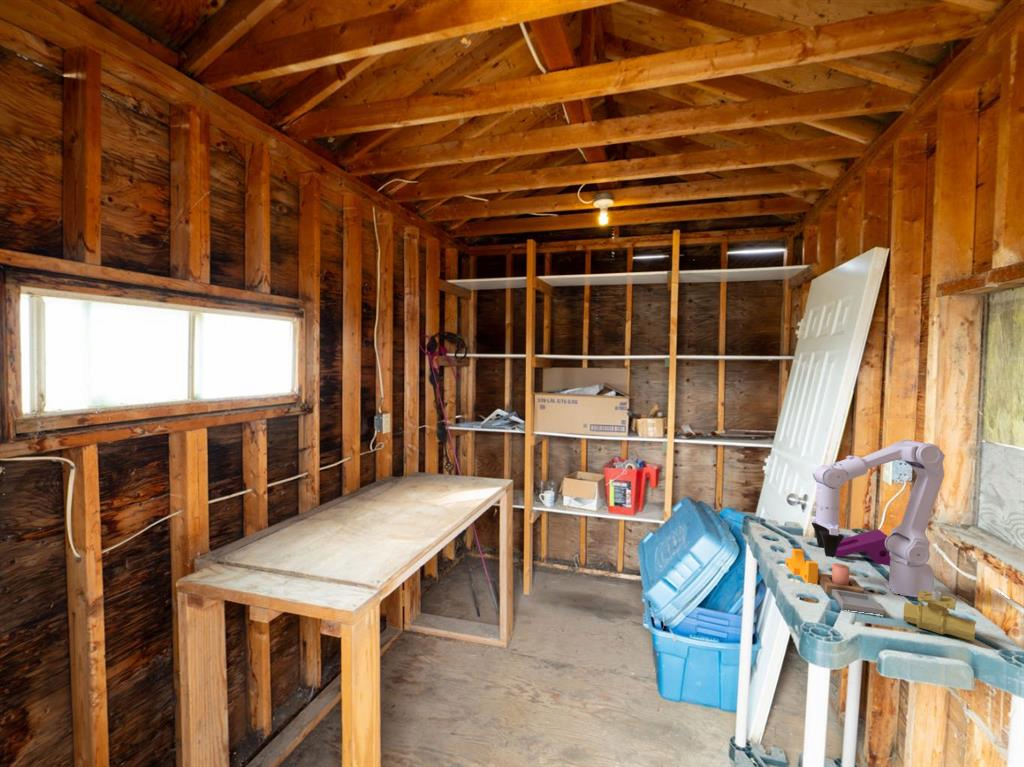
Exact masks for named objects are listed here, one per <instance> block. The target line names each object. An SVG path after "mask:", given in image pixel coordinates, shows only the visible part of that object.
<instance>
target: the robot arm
mask: <svg viewBox="0 0 1024 767" xmlns="http://www.w3.org/2000/svg"><path fill="white" fill-rule="evenodd" d="M945 457H946V455H945V454H944V452H943V451H942V450H941V449H940V447H939V446H938V445H936V444H934V443H929V442H928V443H926V442H922V441H915V440H912V439H903V440H900V441H896V442H893V443H892V444H891V445H888V446H886V447H883V448H882V449H879V450H877V451H875V452H872V453H869V454H868V455H865V456H863V457H860V456H857V455H846V456H845V459H843V460H840V461H836V462H835V461H833V462H830V464H829V465H820V466H818V467H817V468H816V469H815V470H814V473H812V477H813V479H814V481H815V482H816V495H815V496H816V499H815V500H816V502H815V509H816V510H815V518H811V519H810V521H811V525H812V527H813V530H814V533H815V537H816V538H815V539H816V543H817V547H818V548H821V549H823V550H824V555H825V557H828V558H829V557H830V558H835V557H836V556H835V554H836V551H837V548H838V546H839V544H840V542H841V541H842V539H844V538H845V536H844V535H843V534H841V533H840V532H839V530H840V529H839V528H840V526H841V525H840V524H841V523H840V502H841V501H840V496H841V488H842V487H843V486H844V484H845V482H847V481H851V480H853V479H856V478H858V477H862V476H865V475H867V474H868V472H869V469H871V468H874V467H878V466H880V465H881V466H882V465H884V464H885V465H886V464H888V463H892V462H893V461H894V462H895V461H903V462H904V463H906V464H907V465H909V466H910V467H911V468H912V470H913V471H914V472H915V474H916V478H915V481H914V485H913V486H912V490H911V492H910V496H909V500H908V501H907V505H906V508H905V511H904V514H903V516H902V520H901V523H900V524H899V525H897V526H895V527H893V528H892V530H891V532H890V534H889V535H887V536H888V537H887V538H886V540H885V547H886V549H887V550H888V551H889V552H890V553H889V555H890V565H889V572H888V573H889V574H888V575H889V577H888V578H889V579H888V581H883V582H882V584H883V585H885V587H887V588H888V589H889V590H890V589H891V590H890V591H891V592H892V594H894V593H895V594H894V595H898V594H900V595H899V596H905V597H911V598H917V597H918V595H919V592H920V590H924V591H928V592H930V593H932V591H935V572H934V570H933V567H932V566H931V565H930V564H928V561H929V560H930V556H931V555H930V554H931V553H930V546H931V542H930V540H929V539H928V536H927V535H926V530H927V528H928V525H929V522H930V519H931V516H932V514H933V510H934V507H935V505H936V501H937V499H938V495H939V492H940V490H941V486H942V483H943V480H944V478H945V469H944V460H945Z"/></svg>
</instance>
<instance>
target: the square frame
mask: <svg viewBox="0 0 1024 767" xmlns="http://www.w3.org/2000/svg"><path fill="white" fill-rule="evenodd" d="M817 583H818V584H819V585H820V587H821V588H822V589H823V591H824V592H825V594H827V595H832V589H836V590H842V591H849V592H855V593H861V594H865V592H866V591H865V589H864V588H863V587H862V586H861V585H860V584H859V583H858V582H857V581H856V579H855V578H854V577H849V586H846V585H840V584H833V583H832V574H829V573H828V574H827V573H824V572H823V573H821V572H818V582H817Z"/></svg>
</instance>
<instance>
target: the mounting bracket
mask: <svg viewBox="0 0 1024 767" xmlns="http://www.w3.org/2000/svg"><path fill="white" fill-rule="evenodd" d="M888 536H889V535H887V534H886V533H884V532H883V531H881V530H880V529H879V528H877V529H873V530H870V531H866V532H862V533H858V534H855V535H851V536H847V537H844V538H843V539H842V541H841V542H840V544H839V546H838V548H837V551H836V554H835V557H847V556H851V555H856V554H857V553H861V552H862V553H864V554H865V555H866V556H868V557H869V558H870V559H871V561H873V562H874V563H875V564H878V565H881V564H883V565H884V566H890V555H889V553H890V552H889V551H888V550H887V549H886V547H885V540H886V538H887V537H888Z"/></svg>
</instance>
